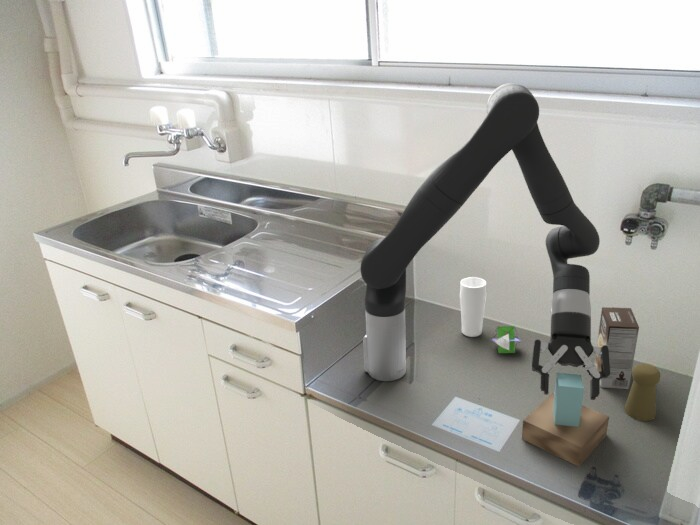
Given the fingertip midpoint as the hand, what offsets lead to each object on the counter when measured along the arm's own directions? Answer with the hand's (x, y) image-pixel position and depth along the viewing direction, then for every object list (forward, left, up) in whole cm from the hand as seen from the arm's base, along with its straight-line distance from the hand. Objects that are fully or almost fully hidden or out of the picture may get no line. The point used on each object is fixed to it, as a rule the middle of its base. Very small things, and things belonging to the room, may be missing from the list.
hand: (569, 396), depth 114 cm
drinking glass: (-33, +30, -11) cm, 46 cm away
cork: (+11, +17, -11) cm, 23 cm away
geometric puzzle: (-22, +26, -11) cm, 36 cm away
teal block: (-1, +1, -6) cm, 6 cm away
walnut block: (0, +1, -11) cm, 11 cm away
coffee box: (+3, +27, -11) cm, 29 cm away
